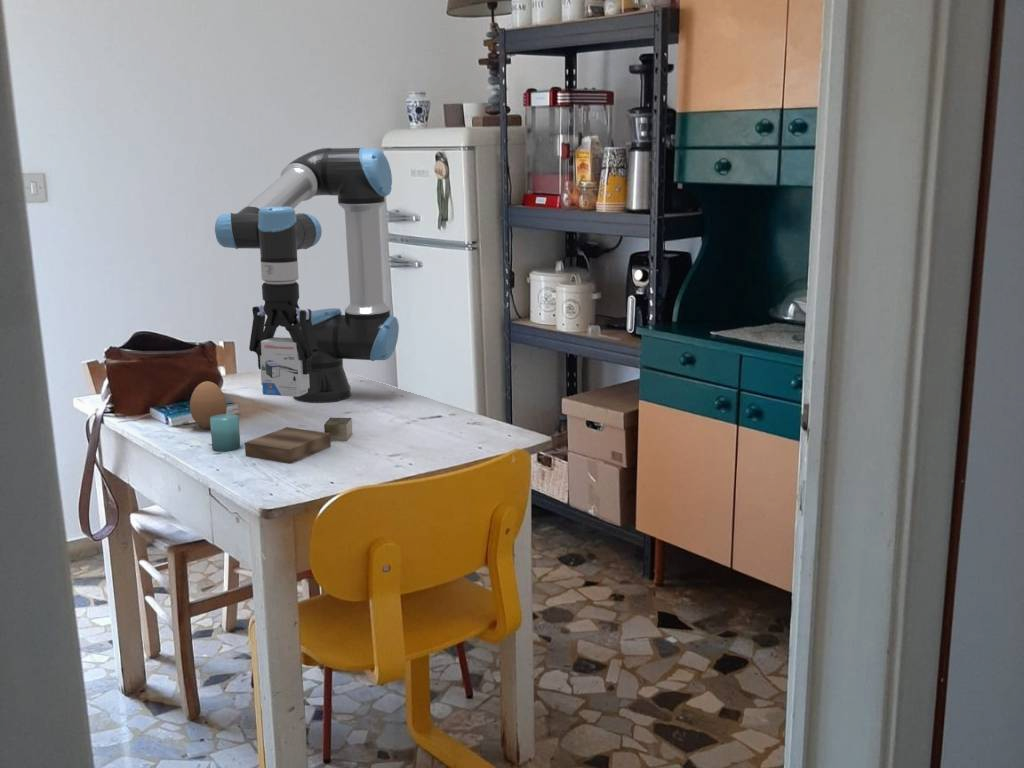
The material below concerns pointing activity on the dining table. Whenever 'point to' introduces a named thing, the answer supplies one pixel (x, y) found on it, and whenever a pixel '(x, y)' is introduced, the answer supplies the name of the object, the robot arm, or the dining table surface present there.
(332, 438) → the brass tin
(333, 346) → the robot arm
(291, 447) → the stand
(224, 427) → the teal pillar candle
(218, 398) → the egg
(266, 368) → the ink box
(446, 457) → the dining table surface
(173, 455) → the dining table surface
